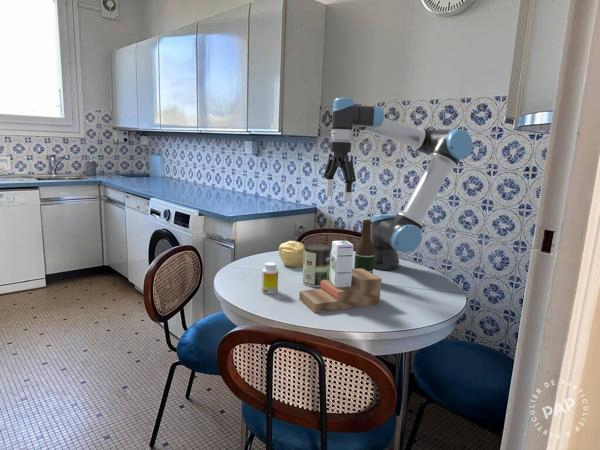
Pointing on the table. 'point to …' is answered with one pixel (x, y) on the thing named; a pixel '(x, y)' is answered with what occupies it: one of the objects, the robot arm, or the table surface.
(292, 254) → the sculpture
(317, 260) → the coffee can
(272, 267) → the supplement bottle
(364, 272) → the stepped stand
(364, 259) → the beer bottle
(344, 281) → the syrup box
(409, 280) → the table surface
